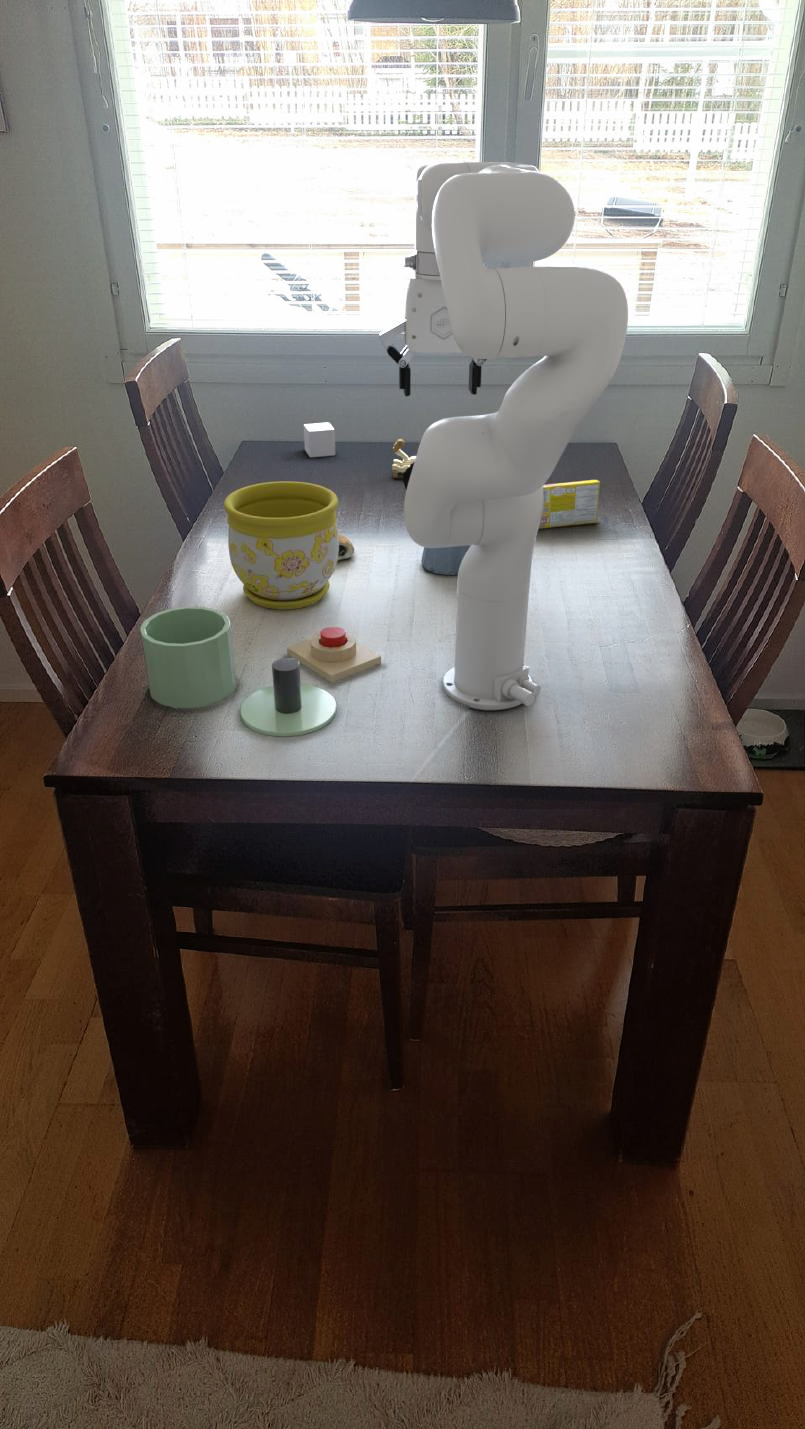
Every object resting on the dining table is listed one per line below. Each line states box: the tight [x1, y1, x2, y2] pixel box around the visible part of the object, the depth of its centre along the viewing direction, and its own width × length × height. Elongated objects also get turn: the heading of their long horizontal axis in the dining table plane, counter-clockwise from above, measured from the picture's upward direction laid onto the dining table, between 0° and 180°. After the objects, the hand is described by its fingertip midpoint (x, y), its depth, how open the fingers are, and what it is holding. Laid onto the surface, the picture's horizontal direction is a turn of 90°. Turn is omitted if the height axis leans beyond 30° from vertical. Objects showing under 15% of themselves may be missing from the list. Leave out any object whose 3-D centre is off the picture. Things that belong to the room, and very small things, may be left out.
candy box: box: [538, 479, 601, 530], centre depth 193 cm, size 16×2×8 cm, turn 105°
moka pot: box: [402, 462, 471, 576], centre depth 173 cm, size 10×15×20 cm, turn 78°
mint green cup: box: [139, 606, 237, 709], centre depth 138 cm, size 12×12×10 cm
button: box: [319, 626, 346, 648], centre depth 146 cm, size 4×4×2 cm
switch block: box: [286, 631, 382, 683], centre depth 147 cm, size 11×9×4 cm
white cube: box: [303, 422, 336, 458], centre depth 233 cm, size 6×6×6 cm
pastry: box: [337, 533, 355, 562], centre depth 182 cm, size 9×7×4 cm
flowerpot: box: [223, 480, 339, 611], centre depth 164 cm, size 18×18×16 cm
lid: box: [239, 657, 337, 737], centre depth 133 cm, size 13×13×8 cm
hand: (439, 393), depth 146 cm, fingers open, 9 cm apart
